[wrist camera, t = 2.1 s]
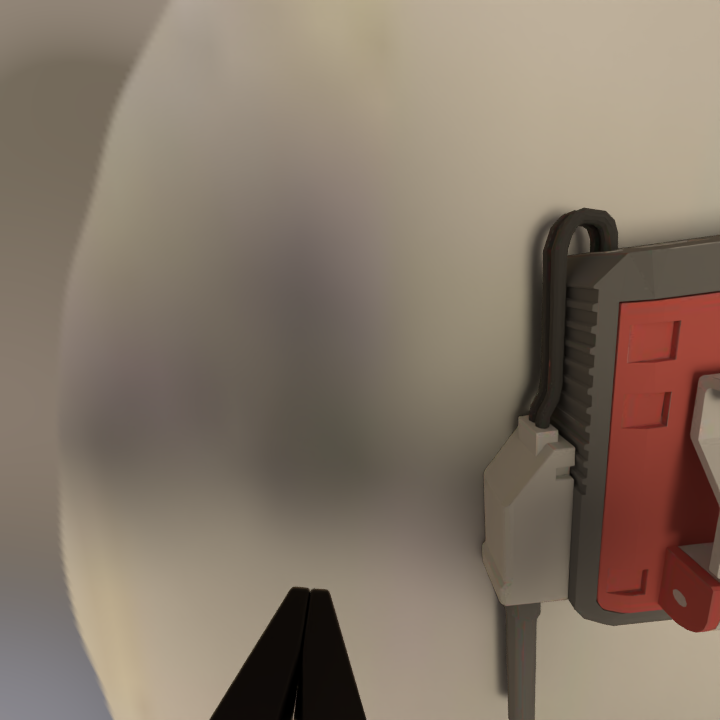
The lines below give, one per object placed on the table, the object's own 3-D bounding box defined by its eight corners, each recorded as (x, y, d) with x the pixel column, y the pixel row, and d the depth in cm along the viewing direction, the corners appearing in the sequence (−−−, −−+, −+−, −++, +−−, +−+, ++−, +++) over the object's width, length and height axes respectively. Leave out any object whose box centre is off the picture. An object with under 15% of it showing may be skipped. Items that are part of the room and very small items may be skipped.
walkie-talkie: (463, 228, 10) (483, 687, 15) (542, 200, 6) (532, 849, 11) (762, 187, 10) (676, 667, 15) (1077, 125, 5) (801, 824, 11)
